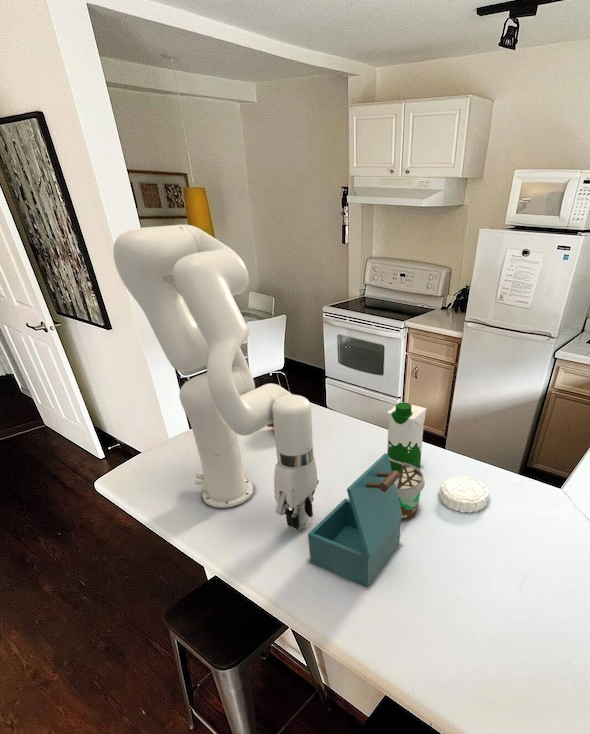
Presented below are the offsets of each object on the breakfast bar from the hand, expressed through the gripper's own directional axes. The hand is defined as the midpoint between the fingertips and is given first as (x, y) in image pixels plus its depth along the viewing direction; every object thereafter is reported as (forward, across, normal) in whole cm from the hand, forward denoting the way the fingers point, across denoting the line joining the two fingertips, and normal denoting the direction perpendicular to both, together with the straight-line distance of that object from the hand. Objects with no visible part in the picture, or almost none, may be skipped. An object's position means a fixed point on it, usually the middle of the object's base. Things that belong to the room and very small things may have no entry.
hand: (300, 520), depth 103 cm
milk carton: (+2, -35, +10) cm, 36 cm away
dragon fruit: (+3, -35, -33) cm, 48 cm away
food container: (+1, -18, +20) cm, 27 cm away
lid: (-14, +1, +20) cm, 25 cm away
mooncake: (+1, -30, +30) cm, 42 cm away
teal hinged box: (+1, +1, +16) cm, 16 cm away
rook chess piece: (+1, 0, 0) cm, 1 cm away
